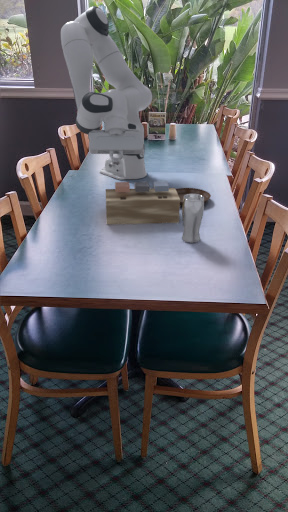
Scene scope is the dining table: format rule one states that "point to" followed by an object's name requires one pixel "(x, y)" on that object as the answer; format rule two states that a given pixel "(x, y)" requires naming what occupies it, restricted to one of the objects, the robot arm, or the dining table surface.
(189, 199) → the beer glass
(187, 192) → the plant saucer
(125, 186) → the terracotta key
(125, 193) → the wooden key base
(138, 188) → the charcoal key
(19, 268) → the dining table surface
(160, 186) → the slate key
